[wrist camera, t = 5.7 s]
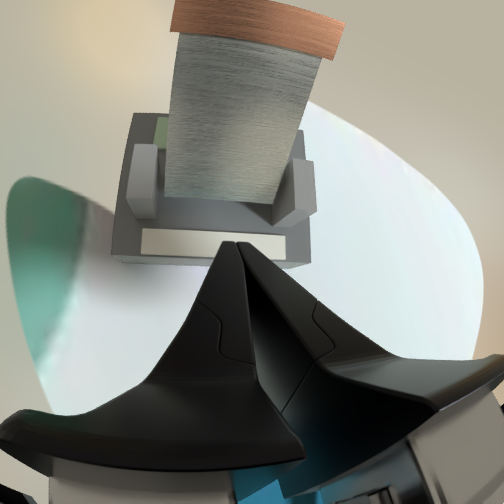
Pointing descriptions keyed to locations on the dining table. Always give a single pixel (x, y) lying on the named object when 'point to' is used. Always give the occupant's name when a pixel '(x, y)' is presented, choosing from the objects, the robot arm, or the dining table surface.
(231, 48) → the toggle lever
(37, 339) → the dining table surface
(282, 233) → the breaker housing
